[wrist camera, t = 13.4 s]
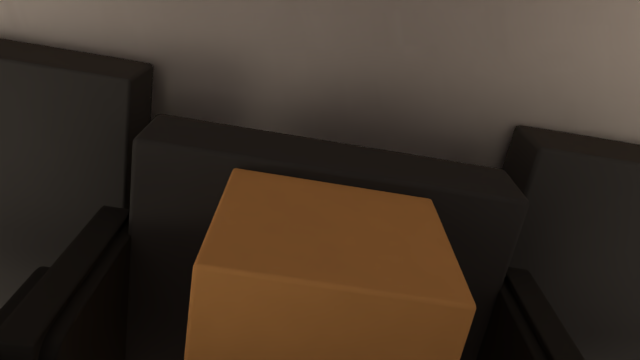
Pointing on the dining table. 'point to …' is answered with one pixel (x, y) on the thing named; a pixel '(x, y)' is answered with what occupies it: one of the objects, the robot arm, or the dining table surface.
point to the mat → (134, 115)
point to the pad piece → (310, 248)
